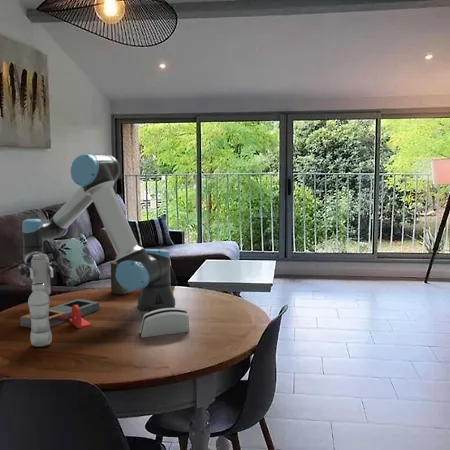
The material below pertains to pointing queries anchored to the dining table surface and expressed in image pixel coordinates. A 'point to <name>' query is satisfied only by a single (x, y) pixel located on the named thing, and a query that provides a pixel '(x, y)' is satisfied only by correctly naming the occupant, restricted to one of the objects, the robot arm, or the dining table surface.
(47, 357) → the dining table surface
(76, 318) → the bracket
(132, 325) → the dining table surface
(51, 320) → the grey compartment tray
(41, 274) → the energy drink can
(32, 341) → the plastic bottle
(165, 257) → the robot arm
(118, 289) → the pillar candle
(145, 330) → the white plastic holder
